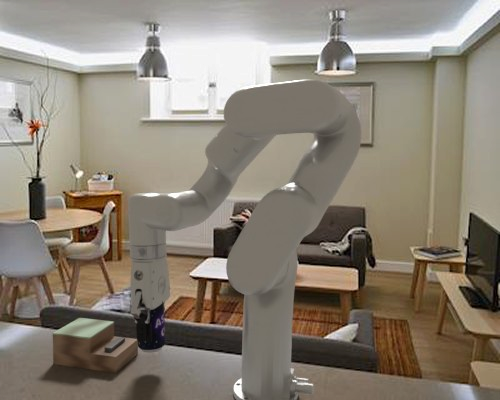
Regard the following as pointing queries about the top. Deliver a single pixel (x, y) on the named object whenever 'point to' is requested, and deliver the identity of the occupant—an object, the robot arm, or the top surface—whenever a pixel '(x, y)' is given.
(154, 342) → the beverage can
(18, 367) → the top surface
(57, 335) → the stand
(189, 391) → the top surface
